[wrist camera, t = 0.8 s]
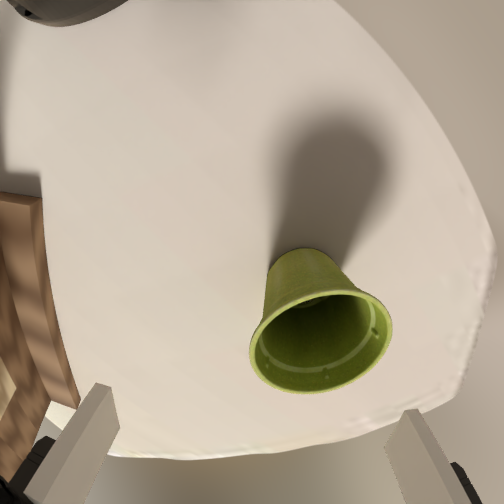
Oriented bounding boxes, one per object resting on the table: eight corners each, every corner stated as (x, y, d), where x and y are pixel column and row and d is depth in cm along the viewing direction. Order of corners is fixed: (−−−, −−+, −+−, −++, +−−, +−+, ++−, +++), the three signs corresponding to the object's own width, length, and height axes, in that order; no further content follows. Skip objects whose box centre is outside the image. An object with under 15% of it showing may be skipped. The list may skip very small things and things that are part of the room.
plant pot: (261, 330, 28) (268, 405, 20) (232, 245, 23) (229, 315, 16) (355, 305, 27) (388, 373, 19) (346, 215, 23) (394, 271, 15)
